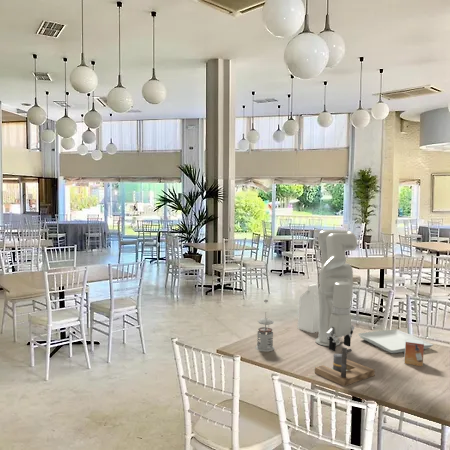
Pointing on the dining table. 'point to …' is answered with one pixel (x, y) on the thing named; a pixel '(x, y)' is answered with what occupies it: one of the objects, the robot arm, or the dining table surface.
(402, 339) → the square plate
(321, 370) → the wooden stand with post
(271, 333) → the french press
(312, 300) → the milk
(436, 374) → the dining table surface
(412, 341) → the small box
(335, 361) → the grey cylinder
